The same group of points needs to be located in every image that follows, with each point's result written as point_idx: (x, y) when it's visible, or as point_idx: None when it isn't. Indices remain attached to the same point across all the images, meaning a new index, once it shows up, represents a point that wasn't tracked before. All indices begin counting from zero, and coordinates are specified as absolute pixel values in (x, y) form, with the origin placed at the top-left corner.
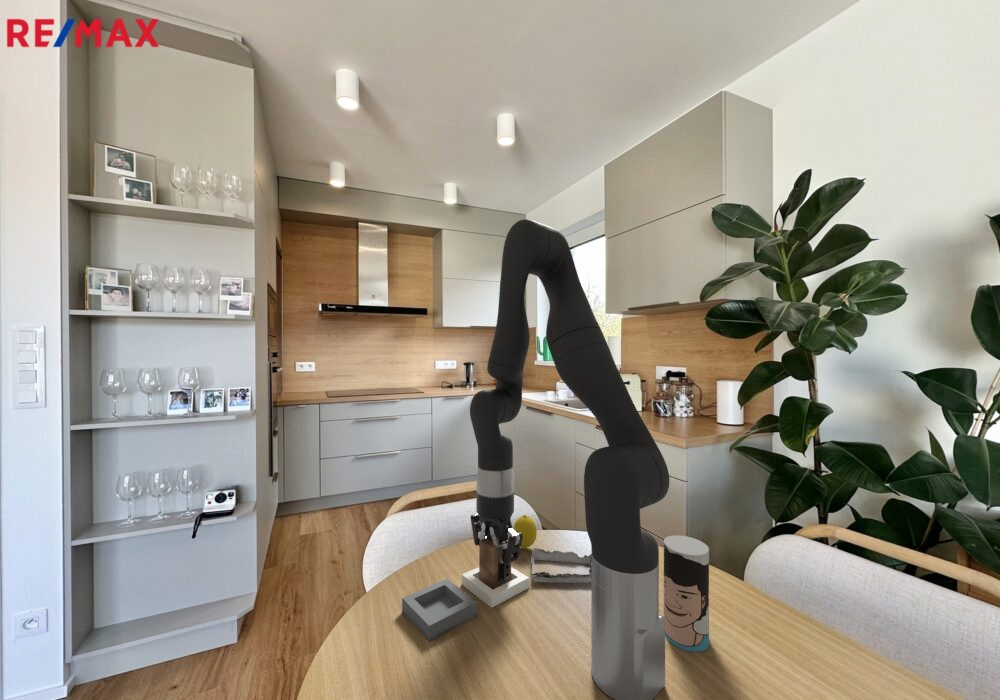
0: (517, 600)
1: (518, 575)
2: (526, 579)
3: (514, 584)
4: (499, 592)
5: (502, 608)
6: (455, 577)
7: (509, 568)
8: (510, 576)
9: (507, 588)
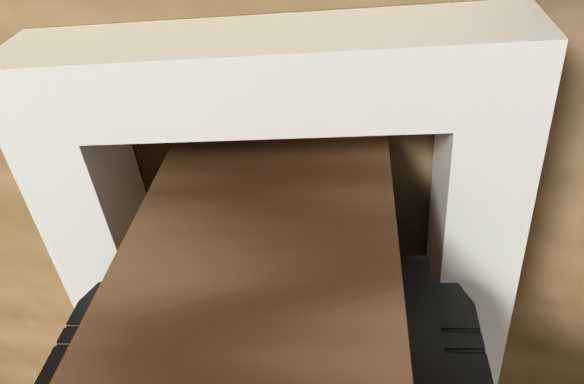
0: (567, 198)
1: (431, 110)
2: (559, 80)
3: (521, 239)
4: (497, 368)
5: (536, 313)
6: (43, 332)
7: (489, 377)
8: (393, 198)
9: (509, 305)
